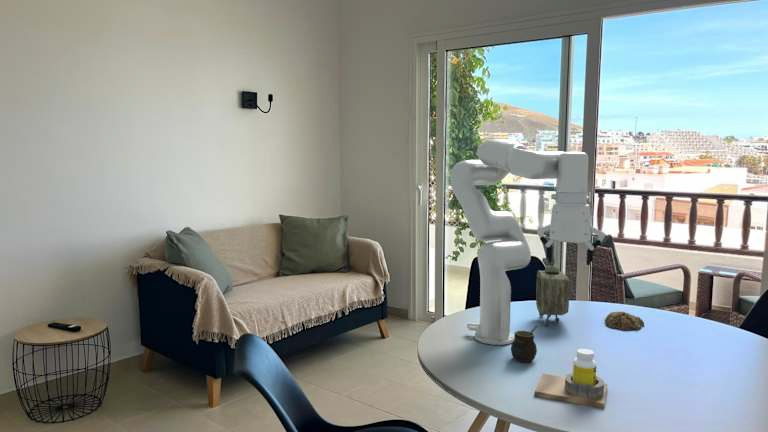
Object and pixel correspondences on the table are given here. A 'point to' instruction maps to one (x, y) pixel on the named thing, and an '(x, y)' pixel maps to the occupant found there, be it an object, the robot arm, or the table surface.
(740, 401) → the table surface
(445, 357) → the table surface
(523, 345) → the mate gourd
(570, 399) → the collar board
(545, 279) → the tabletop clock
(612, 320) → the bread roll
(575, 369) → the supplement bottle
